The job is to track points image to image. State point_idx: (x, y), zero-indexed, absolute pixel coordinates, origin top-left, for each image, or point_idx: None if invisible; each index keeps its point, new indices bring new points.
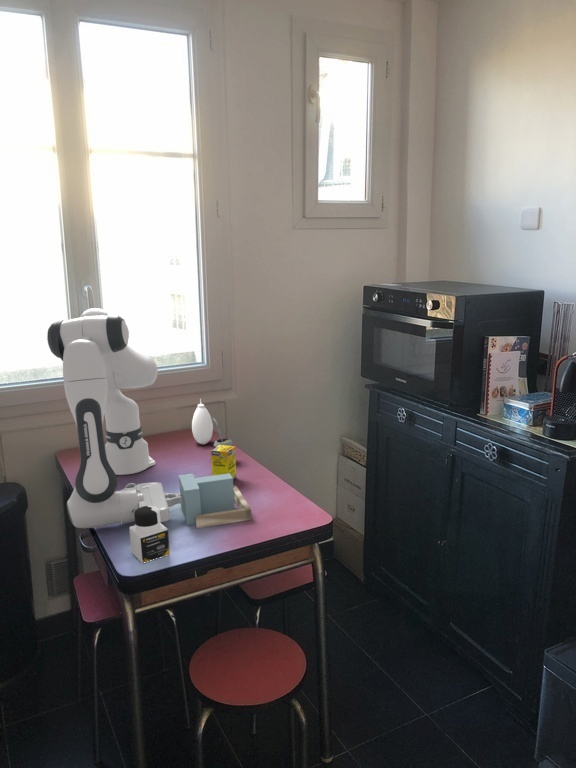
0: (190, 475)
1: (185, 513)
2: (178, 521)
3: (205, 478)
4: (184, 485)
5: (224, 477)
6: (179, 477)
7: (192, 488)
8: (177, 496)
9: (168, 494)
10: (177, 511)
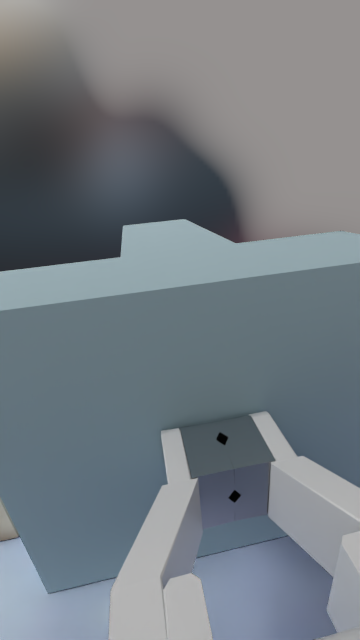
0: (33, 273)
1: (344, 473)
2: (322, 597)
3: (152, 240)
4: (296, 264)
5: (167, 224)
6: (12, 308)
7: (357, 239)
8: (256, 447)
9: (190, 578)
10: (106, 629)
